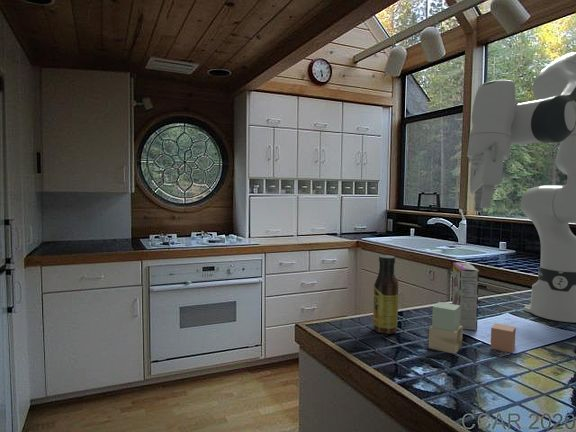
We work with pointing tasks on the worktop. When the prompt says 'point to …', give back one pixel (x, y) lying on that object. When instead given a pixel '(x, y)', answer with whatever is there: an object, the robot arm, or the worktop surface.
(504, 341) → the terracotta cube
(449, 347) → the beige block
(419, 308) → the worktop surface
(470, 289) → the candy bar box
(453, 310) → the sage cube
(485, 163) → the robot arm
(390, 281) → the sauce bottle
